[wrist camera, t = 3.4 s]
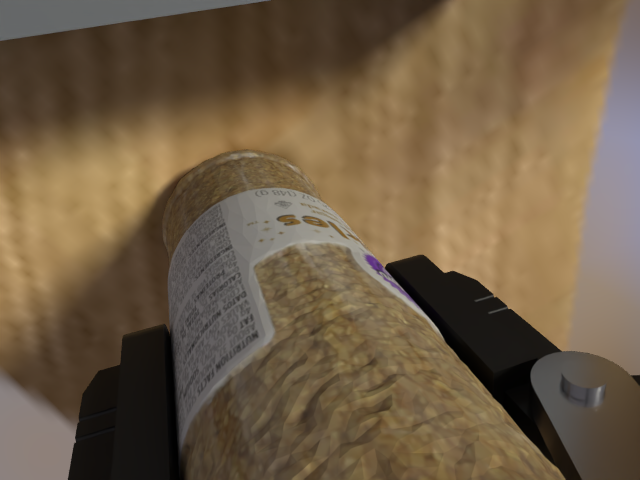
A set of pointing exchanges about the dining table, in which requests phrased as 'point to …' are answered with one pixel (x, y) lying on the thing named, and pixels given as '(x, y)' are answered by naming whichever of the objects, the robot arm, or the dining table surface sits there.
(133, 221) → the dining table surface
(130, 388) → the robot arm
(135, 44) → the dining table surface
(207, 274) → the sprinkles bottle
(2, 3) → the well block
